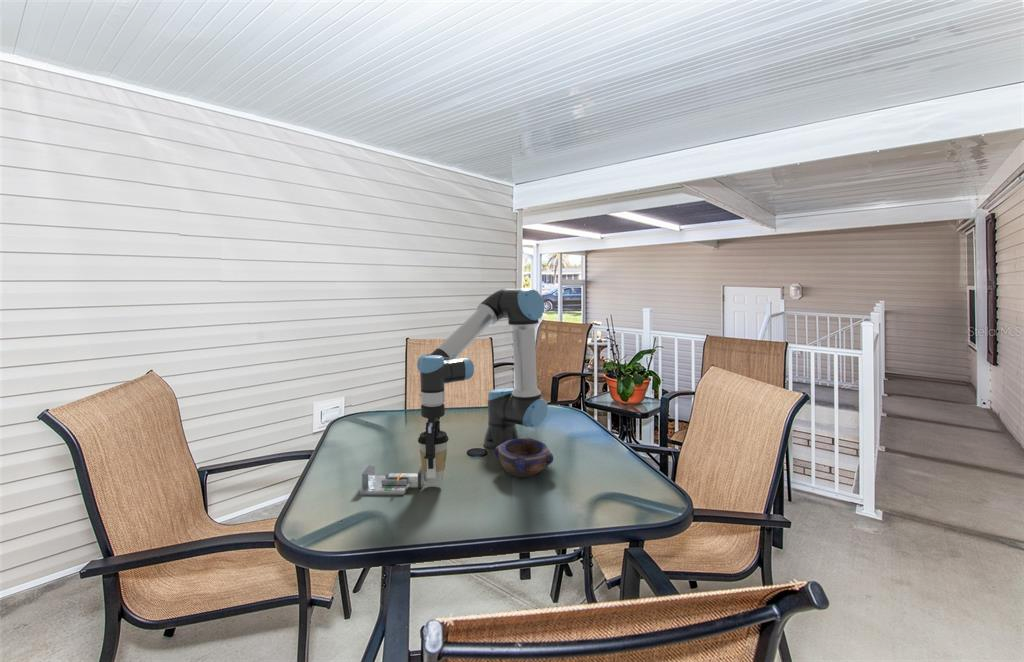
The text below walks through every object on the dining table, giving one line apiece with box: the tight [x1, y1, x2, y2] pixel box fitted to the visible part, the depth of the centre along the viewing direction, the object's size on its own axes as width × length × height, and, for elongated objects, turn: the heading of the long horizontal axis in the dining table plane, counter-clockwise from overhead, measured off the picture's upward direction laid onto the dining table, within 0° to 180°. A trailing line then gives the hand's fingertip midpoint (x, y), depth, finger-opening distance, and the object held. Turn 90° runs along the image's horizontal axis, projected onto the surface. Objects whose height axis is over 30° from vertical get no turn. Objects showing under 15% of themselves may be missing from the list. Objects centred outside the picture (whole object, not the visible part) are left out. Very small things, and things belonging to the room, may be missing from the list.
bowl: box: [494, 437, 554, 478], centre depth 161 cm, size 18×18×10 cm
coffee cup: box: [417, 429, 449, 484], centre depth 149 cm, size 10×10×15 cm
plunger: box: [388, 465, 425, 489], centre depth 149 cm, size 11×8×5 cm
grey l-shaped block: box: [359, 465, 411, 496], centre depth 150 cm, size 14×12×6 cm
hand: (433, 471), depth 150 cm, fingers closed on coffee cup, 9 cm apart
